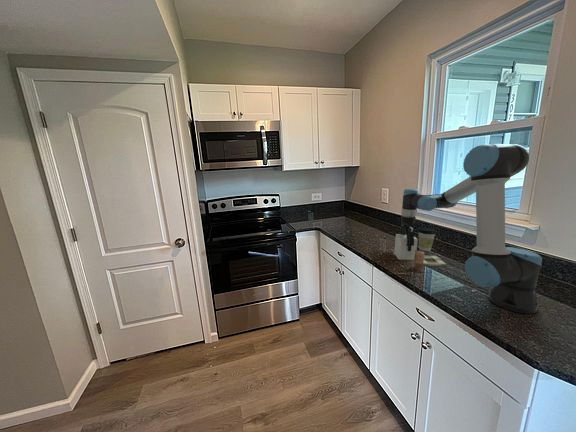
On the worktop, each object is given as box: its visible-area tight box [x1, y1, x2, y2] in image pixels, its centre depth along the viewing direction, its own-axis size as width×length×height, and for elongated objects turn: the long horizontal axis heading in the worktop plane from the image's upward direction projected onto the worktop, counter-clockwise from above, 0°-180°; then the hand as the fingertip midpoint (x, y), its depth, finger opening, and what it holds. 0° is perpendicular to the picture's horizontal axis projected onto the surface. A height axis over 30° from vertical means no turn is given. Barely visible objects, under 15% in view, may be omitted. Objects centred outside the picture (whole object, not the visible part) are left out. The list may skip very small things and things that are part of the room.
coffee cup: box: [417, 226, 436, 252], centre depth 157 cm, size 10×10×15 cm
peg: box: [412, 249, 426, 274], centre depth 131 cm, size 4×4×11 cm
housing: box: [393, 233, 419, 261], centre depth 146 cm, size 9×9×13 cm
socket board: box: [423, 255, 447, 267], centre depth 140 cm, size 12×12×2 cm
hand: (404, 252), depth 147 cm, fingers closed on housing, 9 cm apart
